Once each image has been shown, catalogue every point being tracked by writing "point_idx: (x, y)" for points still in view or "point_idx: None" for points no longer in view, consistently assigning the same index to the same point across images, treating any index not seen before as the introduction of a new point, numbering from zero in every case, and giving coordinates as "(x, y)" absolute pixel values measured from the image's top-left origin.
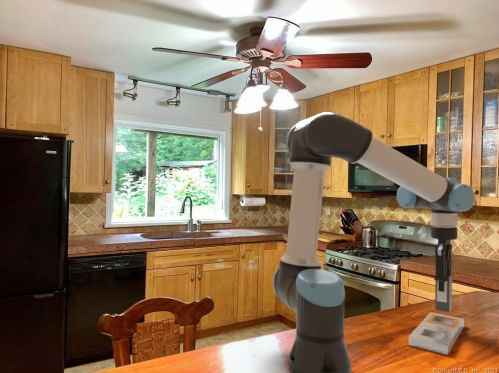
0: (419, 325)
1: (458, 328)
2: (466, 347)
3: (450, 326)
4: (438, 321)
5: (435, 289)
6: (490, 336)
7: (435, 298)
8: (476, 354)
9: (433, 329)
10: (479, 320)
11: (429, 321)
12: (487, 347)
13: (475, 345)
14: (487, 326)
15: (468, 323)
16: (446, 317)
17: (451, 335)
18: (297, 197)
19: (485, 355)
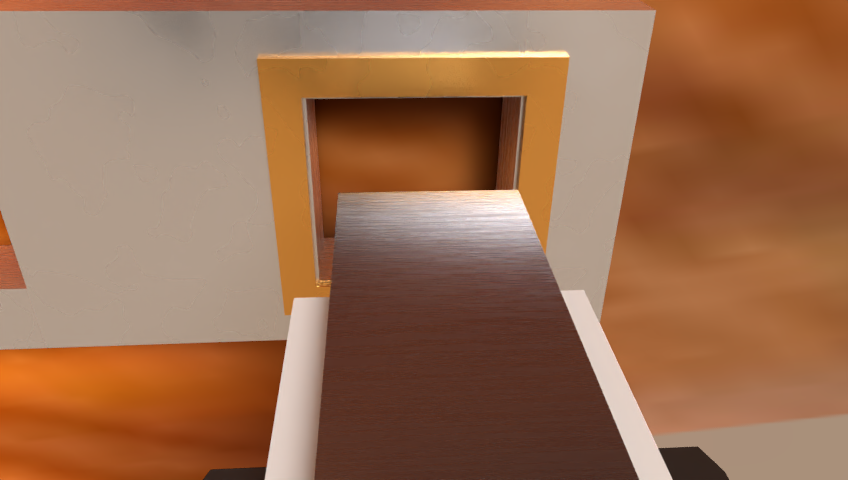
0: (26, 21)
1: (286, 337)
2: (115, 365)
3: (279, 282)
4: (510, 111)
5: (322, 399)
6: None
7: (331, 286)
8: (42, 425)
9: (40, 179)
10: (829, 339)
11: (258, 90)
12: (237, 451)
13: (211, 398)
14: (698, 397)
15: (705, 291)
16: (528, 208)
17: (30, 333)
18: None
19: (77, 461)
